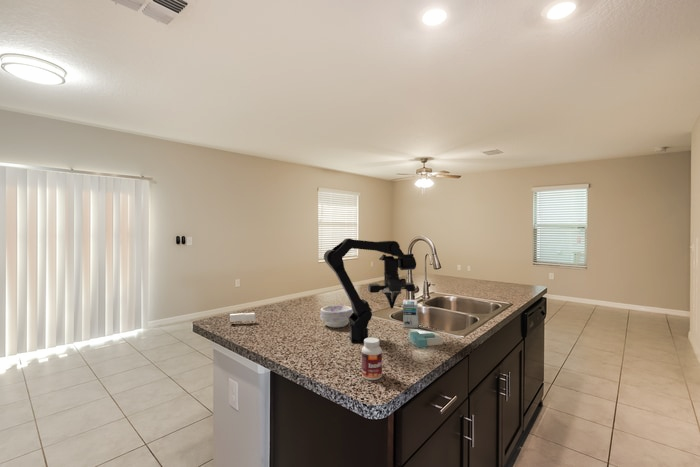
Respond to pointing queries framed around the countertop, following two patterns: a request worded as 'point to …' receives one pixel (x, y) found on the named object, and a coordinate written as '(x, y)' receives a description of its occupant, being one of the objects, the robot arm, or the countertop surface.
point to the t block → (420, 338)
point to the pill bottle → (371, 359)
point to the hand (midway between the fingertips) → (391, 308)
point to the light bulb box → (410, 313)
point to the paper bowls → (336, 315)
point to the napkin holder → (242, 317)
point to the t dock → (434, 340)
